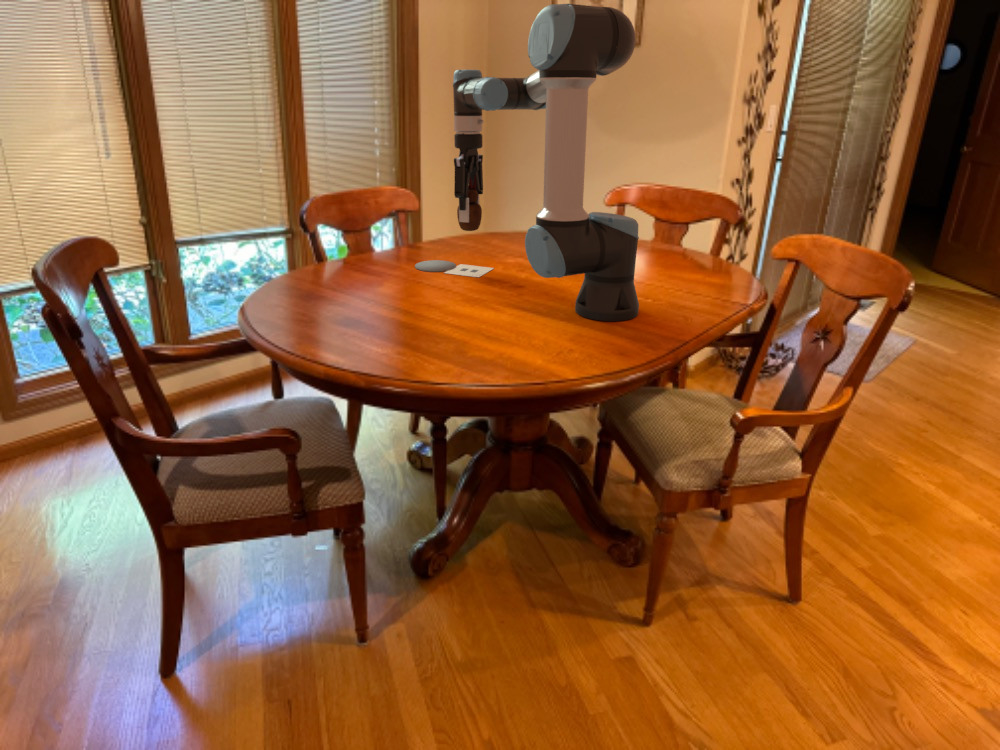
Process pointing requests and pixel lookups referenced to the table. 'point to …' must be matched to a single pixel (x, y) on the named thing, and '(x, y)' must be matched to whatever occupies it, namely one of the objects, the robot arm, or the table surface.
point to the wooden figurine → (472, 209)
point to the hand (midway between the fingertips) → (469, 219)
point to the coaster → (435, 266)
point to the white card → (469, 270)
